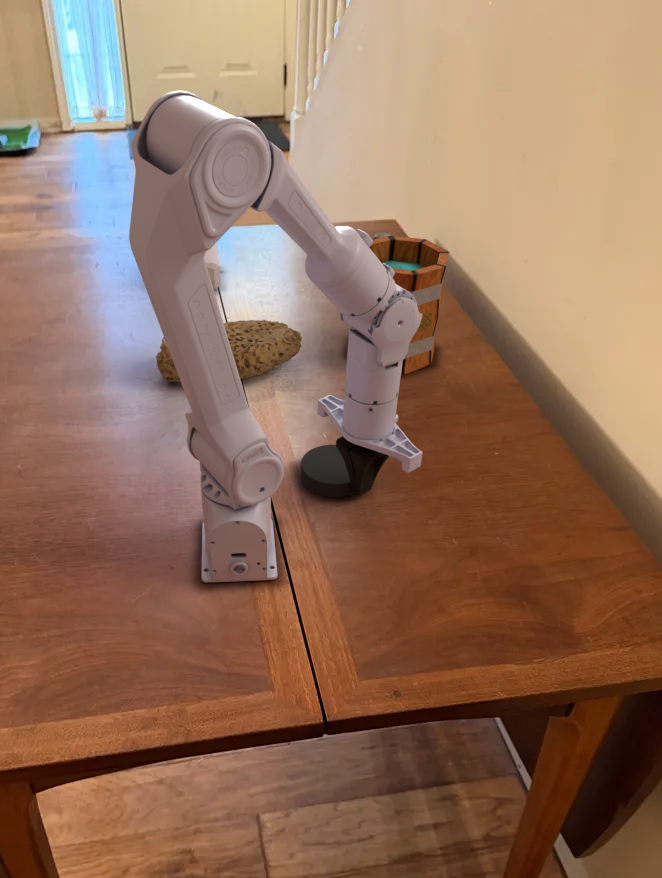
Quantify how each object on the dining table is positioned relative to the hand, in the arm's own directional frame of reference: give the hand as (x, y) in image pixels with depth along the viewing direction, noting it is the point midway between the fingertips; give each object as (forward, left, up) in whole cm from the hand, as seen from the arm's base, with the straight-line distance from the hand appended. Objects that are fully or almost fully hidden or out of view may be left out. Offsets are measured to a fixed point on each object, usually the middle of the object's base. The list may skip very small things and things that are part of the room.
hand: (361, 489), depth 92 cm
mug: (+37, -9, -1) cm, 38 cm away
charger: (+58, +21, -1) cm, 62 cm away
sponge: (+30, +15, -1) cm, 33 cm away
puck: (+4, +3, -1) cm, 5 cm away
